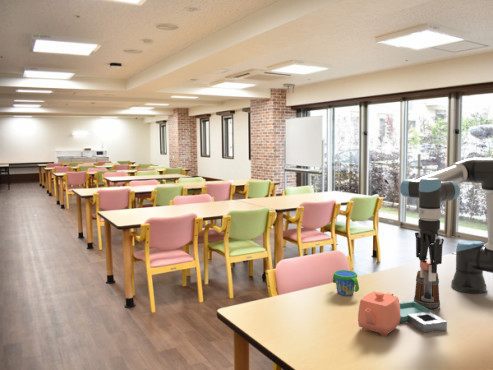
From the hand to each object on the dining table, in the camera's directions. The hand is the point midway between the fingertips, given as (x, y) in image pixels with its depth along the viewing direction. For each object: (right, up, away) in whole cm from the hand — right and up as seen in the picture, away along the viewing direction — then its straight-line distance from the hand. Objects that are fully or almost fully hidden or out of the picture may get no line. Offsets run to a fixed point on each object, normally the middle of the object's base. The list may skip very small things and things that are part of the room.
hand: (428, 278), depth 158 cm
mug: (+10, -17, +25) cm, 31 cm away
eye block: (0, -19, +2) cm, 19 cm away
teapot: (-19, -20, 0) cm, 27 cm away
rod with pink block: (0, -8, +1) cm, 8 cm away
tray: (-3, -18, +13) cm, 22 cm away
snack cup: (-23, -16, +38) cm, 47 cm away
